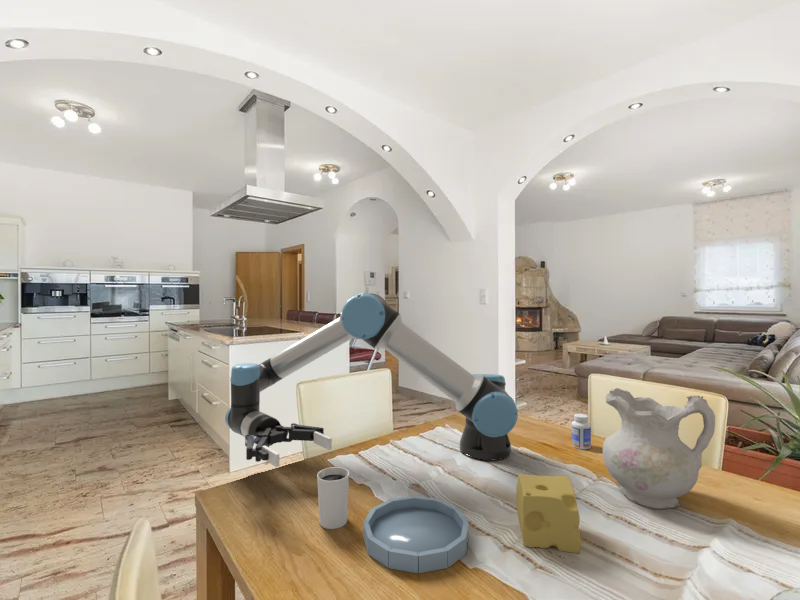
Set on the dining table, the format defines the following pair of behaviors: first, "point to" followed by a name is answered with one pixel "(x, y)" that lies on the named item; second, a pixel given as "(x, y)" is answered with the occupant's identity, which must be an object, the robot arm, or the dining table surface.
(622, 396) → the ceramic pitcher
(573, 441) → the pill bottle
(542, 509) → the cheese
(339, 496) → the white coffee cup
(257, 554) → the dining table surface
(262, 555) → the dining table surface
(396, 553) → the blue round tray
